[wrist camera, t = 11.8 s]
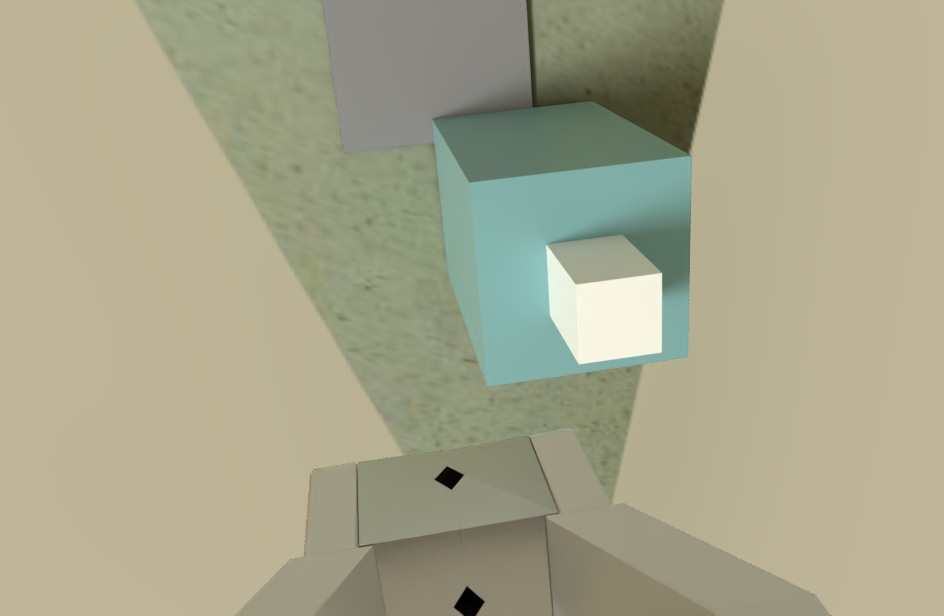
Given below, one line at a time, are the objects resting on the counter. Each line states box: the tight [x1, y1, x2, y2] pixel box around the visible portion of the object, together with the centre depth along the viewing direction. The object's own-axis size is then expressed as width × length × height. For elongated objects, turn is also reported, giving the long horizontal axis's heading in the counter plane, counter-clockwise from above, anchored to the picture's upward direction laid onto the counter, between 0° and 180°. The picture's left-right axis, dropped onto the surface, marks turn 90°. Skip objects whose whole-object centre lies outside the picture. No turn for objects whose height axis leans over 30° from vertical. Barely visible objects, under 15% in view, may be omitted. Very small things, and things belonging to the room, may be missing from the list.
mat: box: [322, 0, 533, 153], centre depth 42 cm, size 10×10×1 cm
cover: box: [432, 101, 692, 387], centre depth 37 cm, size 8×8×18 cm
